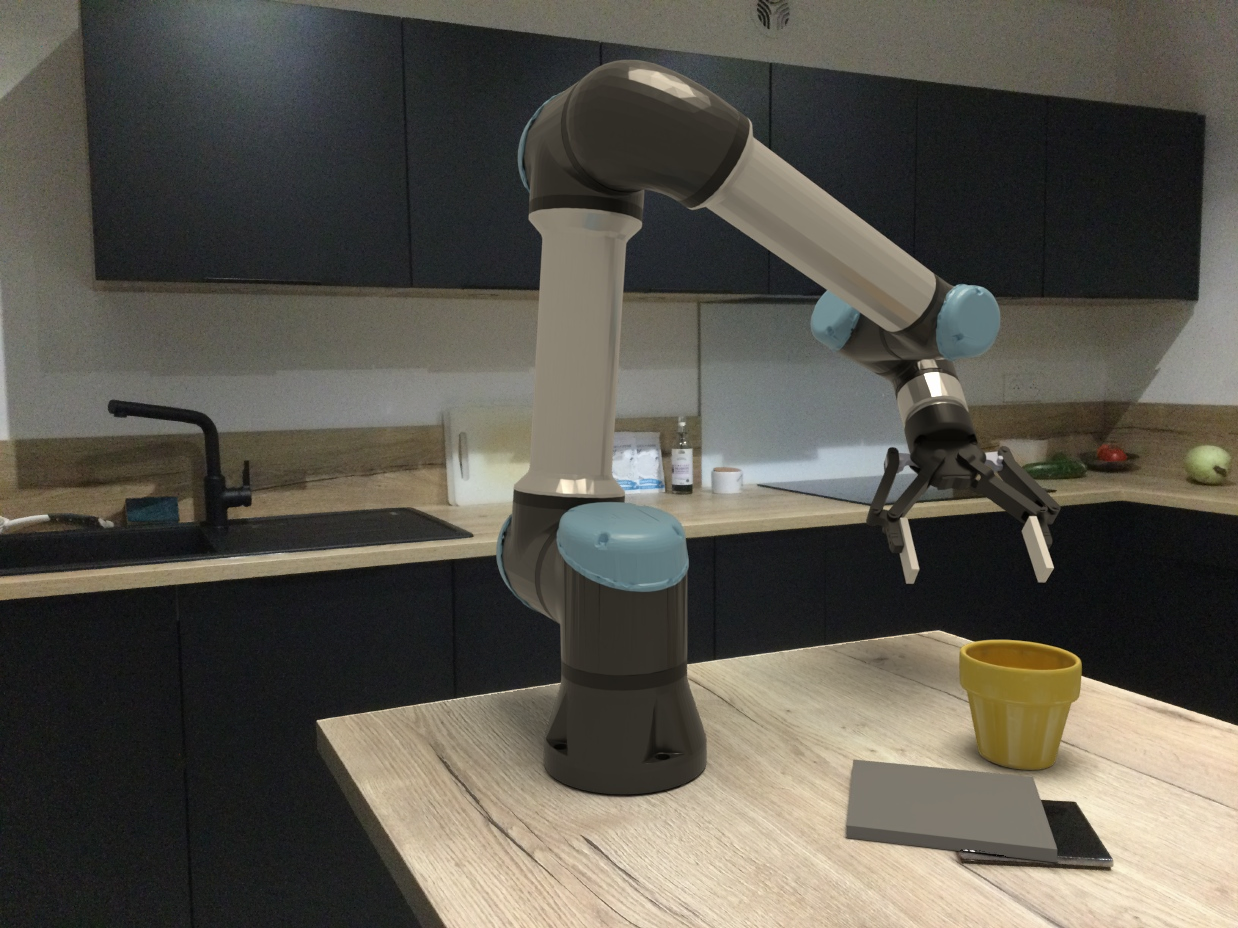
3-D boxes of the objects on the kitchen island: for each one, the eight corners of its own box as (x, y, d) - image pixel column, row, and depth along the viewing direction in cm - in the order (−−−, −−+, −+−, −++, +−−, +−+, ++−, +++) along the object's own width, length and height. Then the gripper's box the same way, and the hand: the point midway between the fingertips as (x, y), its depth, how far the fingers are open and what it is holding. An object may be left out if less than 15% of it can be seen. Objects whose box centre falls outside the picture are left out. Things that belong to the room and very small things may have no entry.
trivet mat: (846, 837, 74) (846, 825, 74) (853, 769, 87) (853, 759, 87) (1057, 862, 70) (1057, 849, 70) (1032, 787, 83) (1032, 776, 83)
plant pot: (1018, 728, 96) (1021, 633, 95) (1104, 768, 87) (1108, 662, 86) (934, 744, 92) (936, 645, 92) (1014, 787, 83) (1017, 676, 82)
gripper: (1033, 441, 115) (1088, 593, 101) (824, 443, 115) (851, 596, 102) (1054, 398, 109) (1115, 554, 96) (833, 401, 109) (863, 556, 96)
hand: (979, 576), depth 99 cm, fingers open, 13 cm apart
